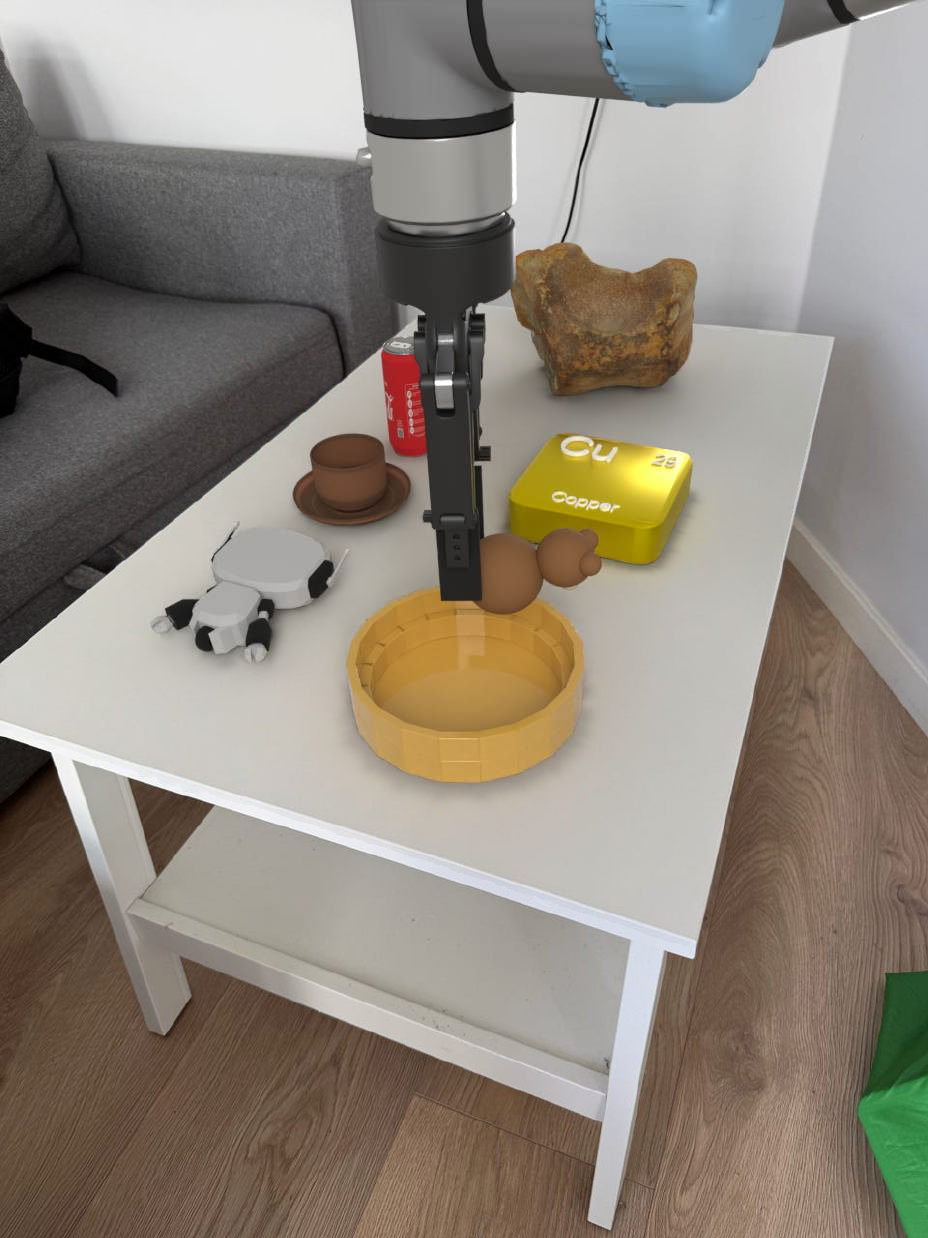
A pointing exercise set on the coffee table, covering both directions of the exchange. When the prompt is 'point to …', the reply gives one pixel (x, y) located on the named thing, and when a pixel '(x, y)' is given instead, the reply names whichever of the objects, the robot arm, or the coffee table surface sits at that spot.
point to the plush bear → (533, 566)
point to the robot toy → (253, 589)
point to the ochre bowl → (465, 686)
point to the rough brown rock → (604, 318)
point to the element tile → (602, 494)
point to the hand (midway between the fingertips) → (463, 571)
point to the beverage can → (403, 397)
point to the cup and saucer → (350, 482)
